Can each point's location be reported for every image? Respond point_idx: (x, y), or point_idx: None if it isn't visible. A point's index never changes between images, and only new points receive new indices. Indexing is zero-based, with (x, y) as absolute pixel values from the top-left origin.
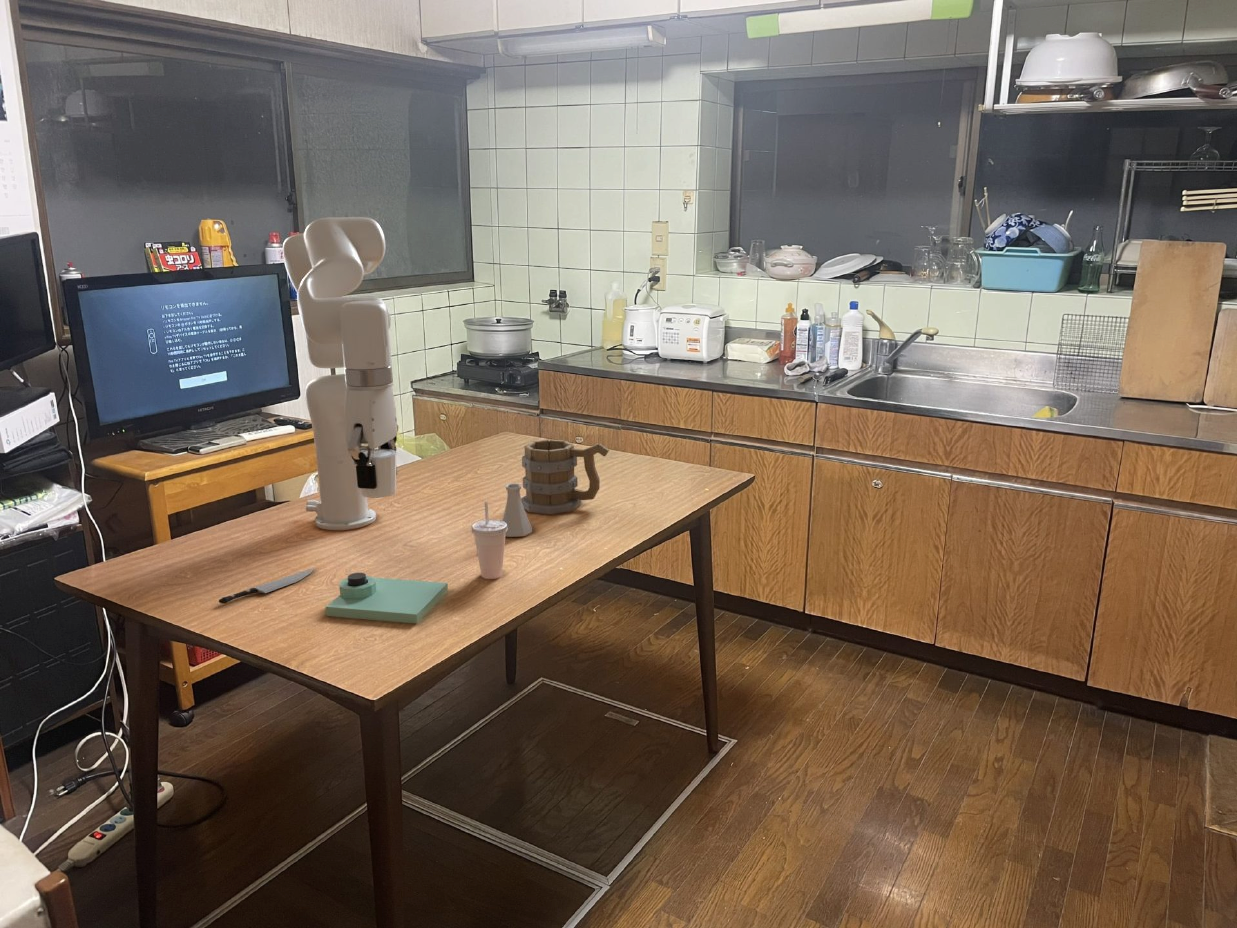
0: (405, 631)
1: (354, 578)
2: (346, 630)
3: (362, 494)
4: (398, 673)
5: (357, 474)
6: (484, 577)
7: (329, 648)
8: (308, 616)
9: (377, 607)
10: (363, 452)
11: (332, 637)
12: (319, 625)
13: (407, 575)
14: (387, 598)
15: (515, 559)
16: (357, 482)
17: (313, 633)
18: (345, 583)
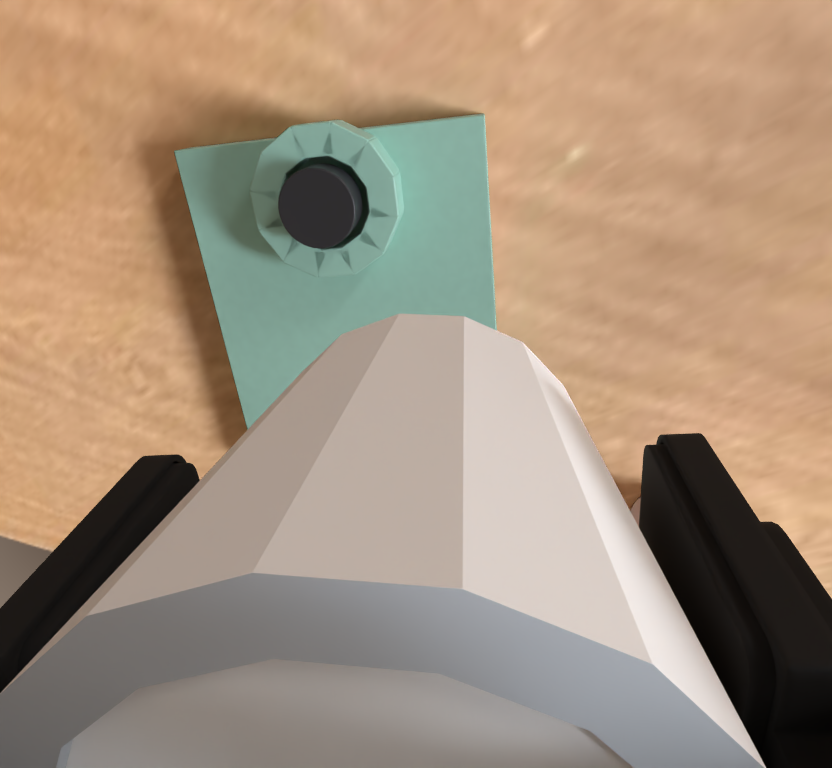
0: (217, 442)
1: (288, 216)
2: (142, 281)
3: (306, 368)
4: (40, 517)
5: (62, 557)
6: (633, 507)
7: (33, 299)
8: (160, 76)
9: (249, 338)
10: (407, 673)
11: (86, 266)
12: (126, 170)
13: (623, 239)
14: (322, 334)
15: (826, 536)
16: (120, 483)
17: (74, 188)
18: (293, 161)
